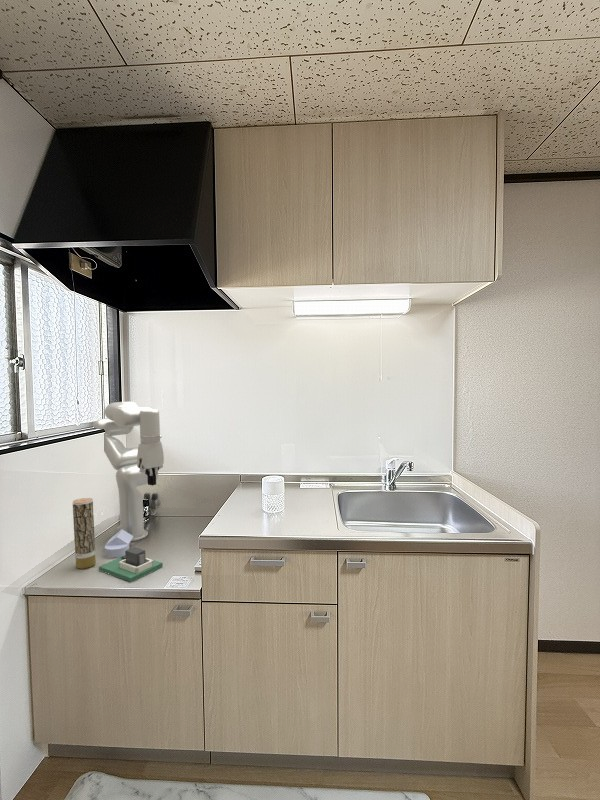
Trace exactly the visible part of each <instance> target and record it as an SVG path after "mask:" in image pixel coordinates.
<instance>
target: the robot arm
mask: <svg viewBox="0 0 600 800" xmlns="http://www.w3.org/2000/svg"><path fill="white" fill-rule="evenodd" d="M104 416H105V417H103V418H100V419H97V420H96V421H94V422H93V423H92V425H91V427H92V426H93V427H94V428H98V429H104V430H105V433H104V451H103V452H104V454H105V455H106V457H107V459H108V461H109V462H110V465H111V466H112V468H113V469H114V470H116V473H115V480H116V484H117V485H116V486H117V489H118V498H119V499H118V500H119V501H118V502H119V517H120V519H119V520H120V522H119V523H120V524H119V525H117V526H116V530H119V531H120V530H124V531H126V532H127V533H129V534H131V535H132V536H133V538H132V540H131V541H130V542H136V541H140V540H142V539H144V538H146V537H147V536H148V534H149V533H148V530H146V529H145V528H144V527H145V526H144V502H143V494H142V492H141V491H140V490H139V489H138V487H140V486H144V485H148V486H152V487H153V486H156V485H157V481H158V478H159V471H160V470H161V469H162V468H163V467H164V466H163V465H164V463H165V462H164V461H165V456H164V449H163V443H162V441H161V439H162V437H163V436H162V435H161V427H160V426H161V425H160V423H161V422H160V411H159V409H158V408H154V407H153V408H152V407H151V406H139V405H138V404H137V403H136V402H135V401H131V400H129V401H119V402H118V401H114V402H111V403H109V404H107V406H106V407H105V409H104ZM137 426H138V427H139V436H140V438H139V439H140V443H138V446H137V447H129V448H128V447H125V445H124V443H123V442H122V441H121V440H120V439H118V438H116V437H114V436H123V435H128V434H130V433H132V431H133V429H134V427H137Z"/></svg>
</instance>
